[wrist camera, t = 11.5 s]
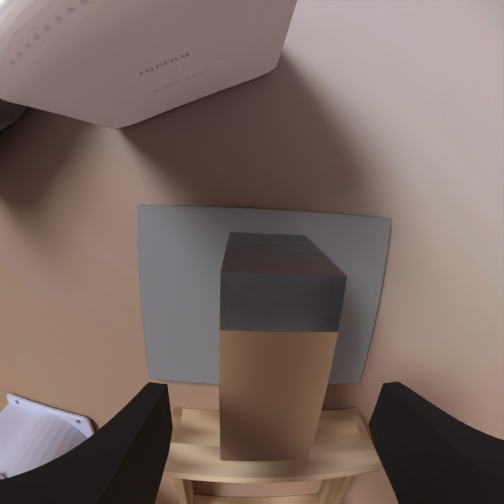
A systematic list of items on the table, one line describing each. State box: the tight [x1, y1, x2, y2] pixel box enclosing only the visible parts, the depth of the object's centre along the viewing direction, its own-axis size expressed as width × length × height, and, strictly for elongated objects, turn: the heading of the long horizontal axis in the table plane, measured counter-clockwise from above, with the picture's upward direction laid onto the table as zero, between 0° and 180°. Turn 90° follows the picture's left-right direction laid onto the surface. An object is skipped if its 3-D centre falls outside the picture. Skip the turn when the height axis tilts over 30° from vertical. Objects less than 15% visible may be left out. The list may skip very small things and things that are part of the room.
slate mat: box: [138, 205, 391, 384], centre depth 18 cm, size 14×11×1 cm
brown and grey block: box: [219, 232, 347, 461], centre depth 14 cm, size 4×9×7 cm, turn 177°
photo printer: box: [0, 0, 297, 129], centre depth 9 cm, size 10×4×12 cm, turn 109°
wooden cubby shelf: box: [162, 408, 382, 504], centre depth 19 cm, size 13×13×6 cm
